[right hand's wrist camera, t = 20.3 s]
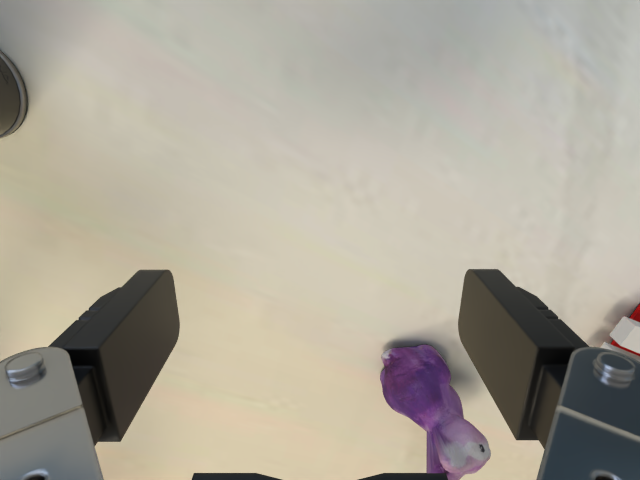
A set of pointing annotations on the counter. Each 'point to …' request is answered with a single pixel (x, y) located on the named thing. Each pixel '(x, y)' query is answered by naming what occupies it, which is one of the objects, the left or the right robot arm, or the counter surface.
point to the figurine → (433, 409)
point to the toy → (626, 336)
